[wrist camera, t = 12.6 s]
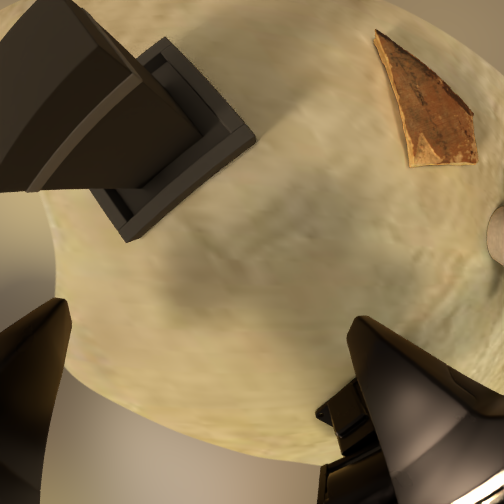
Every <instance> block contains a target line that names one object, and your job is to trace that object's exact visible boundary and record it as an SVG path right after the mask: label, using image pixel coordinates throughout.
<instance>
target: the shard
mask: <svg viewBox="0 0 504 504" xmlns="http://www.w3.org/2000/svg"><path fill="white" fill-rule="evenodd" d="M375 37H376V38H375V39H374V44H375V46H376V47H377V49H378V52H379V56H380V58H381V60H382V62H383V64H384V65H385V67H386V70H387V73H388V76H389V79H390V82H391V85H392V88H393V91H394V94H395V96H396V99H397V102H398V104H399V109H400V115H401V119H402V122H403V130H404V133H405V137H406V141H407V148H408V156H409V166H410V167H411V168H413V167H417V166H425V165H445V164H451V165H457V166H461V165H463V164H468V165H475V164H476V163H478V161H479V160H478V152H477V147H476V142H475V138H474V127H473V120H472V119H473V115H474V113H473V112H472V111H471V110H470V109H469V107H468V106H467V105H466V104H465V103H464V102H463V100H462V99H461V98H460V97H459V96H458V95H457V94H455V93H454V92H453V91H452V90H451V88H450V87H449V86H448V85H447V84H446V83H445V82H444V81H443V80H442V79H441V78H440V77H439V76H438V75H437V74H436V73H435V72H433V71H432V70H431V69H430V68H428V67H427V66H426V65H425V64H424V63H422V62H421V61H420V60H419V59H417V58H416V57H414V56H413V55H412V54H410V53H409V52H408V51H406V50H404V49H403V48H402V47H400V46H399V45H397V44H396V43H395V42H394V41H392V40H391V39H390V38H389V37H388V36H386V35H384V34H383V33H381V32H380V31H378V30H377V29H375Z"/></svg>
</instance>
